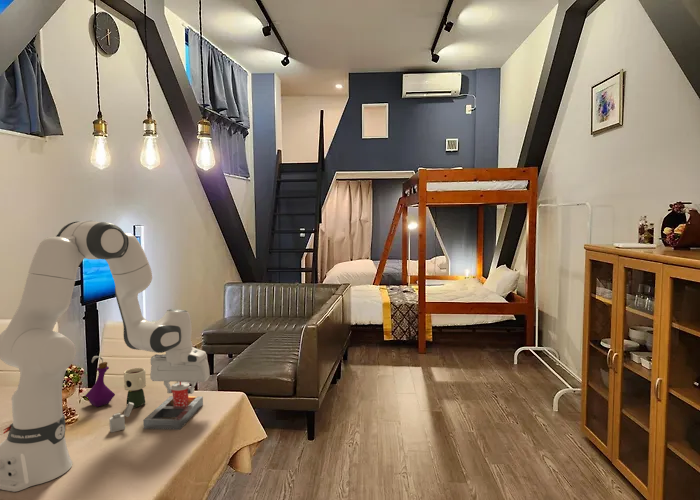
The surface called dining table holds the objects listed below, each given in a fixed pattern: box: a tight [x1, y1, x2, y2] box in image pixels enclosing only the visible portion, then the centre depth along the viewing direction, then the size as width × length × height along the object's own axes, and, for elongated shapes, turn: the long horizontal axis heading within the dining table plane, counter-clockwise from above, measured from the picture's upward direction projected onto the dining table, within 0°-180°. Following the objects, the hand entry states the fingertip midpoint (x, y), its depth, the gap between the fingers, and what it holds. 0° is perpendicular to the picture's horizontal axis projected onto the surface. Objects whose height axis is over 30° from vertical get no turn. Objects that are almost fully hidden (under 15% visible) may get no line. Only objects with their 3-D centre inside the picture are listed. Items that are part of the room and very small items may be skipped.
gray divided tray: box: [142, 395, 204, 430], centre depth 160 cm, size 12×20×3 cm, turn 177°
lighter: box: [109, 402, 134, 434], centre depth 151 cm, size 7×2×8 cm, turn 128°
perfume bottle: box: [84, 355, 116, 408], centre depth 170 cm, size 8×8×18 cm
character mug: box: [123, 367, 147, 409], centre depth 169 cm, size 11×7×13 cm, turn 46°
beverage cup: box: [170, 382, 190, 406], centre depth 165 cm, size 6×6×14 cm
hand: (180, 392), depth 165 cm, fingers closed on beverage cup, 6 cm apart
